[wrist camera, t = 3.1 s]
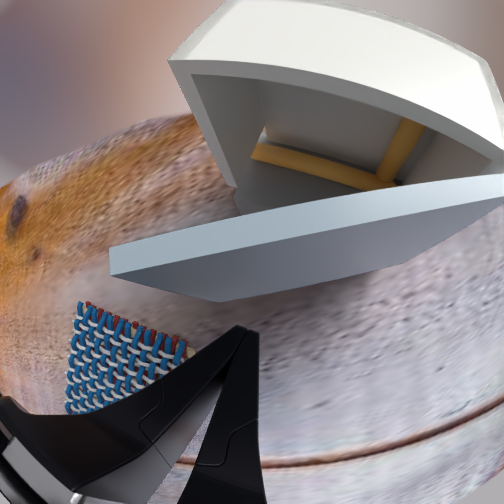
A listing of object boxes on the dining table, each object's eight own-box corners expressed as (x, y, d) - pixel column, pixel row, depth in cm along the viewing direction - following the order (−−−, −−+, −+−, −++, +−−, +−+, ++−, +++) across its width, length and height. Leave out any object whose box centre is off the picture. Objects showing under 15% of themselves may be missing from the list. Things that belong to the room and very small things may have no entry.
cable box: (383, 261, 17) (517, 160, 4) (240, 215, 19) (165, 60, 6) (396, 195, 17) (486, 61, 5) (264, 155, 19) (232, -6, 7)
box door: (402, 263, 13) (516, 193, 4) (218, 302, 14) (109, 275, 5) (399, 252, 13) (508, 173, 4) (216, 291, 14) (109, 248, 5)
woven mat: (73, 409, 17) (59, 414, 15) (88, 299, 19) (72, 297, 17) (176, 464, 15) (165, 475, 13) (202, 341, 18) (192, 344, 16)
